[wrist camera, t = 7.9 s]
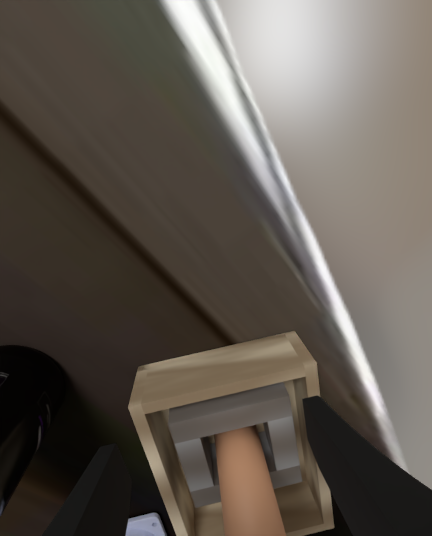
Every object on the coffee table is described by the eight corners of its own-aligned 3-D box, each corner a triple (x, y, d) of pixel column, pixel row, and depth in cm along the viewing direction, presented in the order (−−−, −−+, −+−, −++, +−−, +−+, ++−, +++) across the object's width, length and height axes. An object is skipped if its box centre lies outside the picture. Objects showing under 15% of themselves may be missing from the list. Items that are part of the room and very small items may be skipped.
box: (313, 478, 27) (334, 527, 23) (187, 509, 27) (187, 564, 23) (294, 330, 22) (316, 363, 18) (138, 366, 22) (127, 407, 18)
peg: (255, 424, 24) (294, 567, 15) (217, 434, 24) (234, 583, 15) (248, 394, 23) (285, 529, 14) (208, 404, 23) (221, 546, 14)
